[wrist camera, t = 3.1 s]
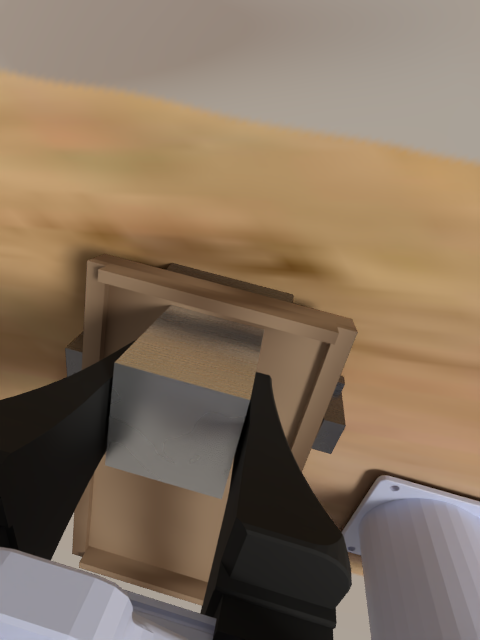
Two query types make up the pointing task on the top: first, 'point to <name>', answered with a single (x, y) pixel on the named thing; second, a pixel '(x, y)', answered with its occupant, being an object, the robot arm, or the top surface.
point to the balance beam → (206, 511)
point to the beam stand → (335, 412)
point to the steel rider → (183, 400)
